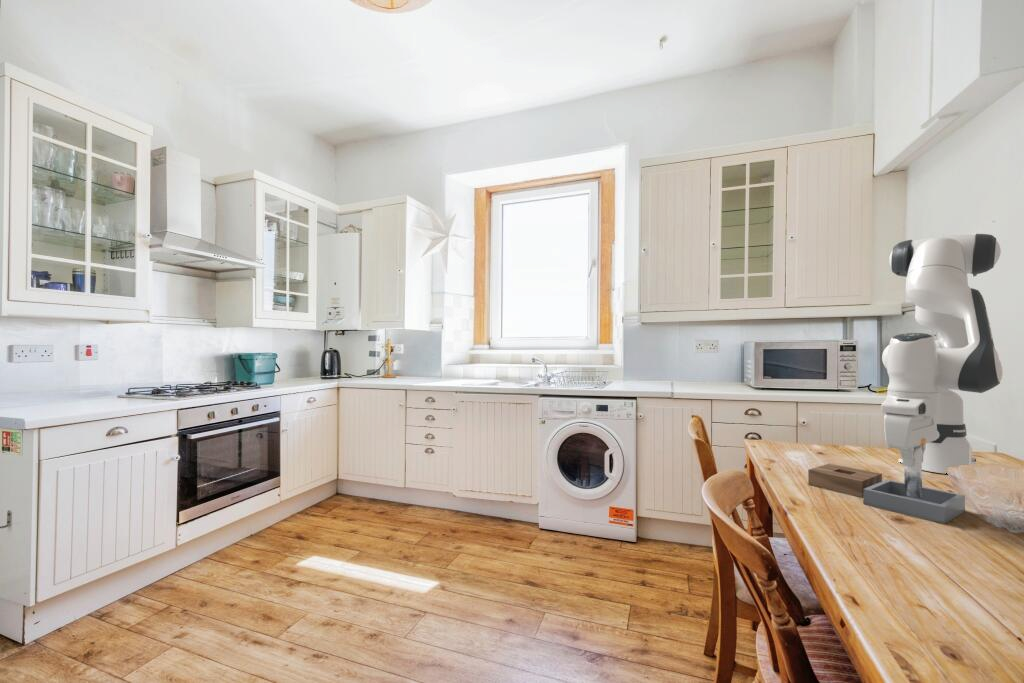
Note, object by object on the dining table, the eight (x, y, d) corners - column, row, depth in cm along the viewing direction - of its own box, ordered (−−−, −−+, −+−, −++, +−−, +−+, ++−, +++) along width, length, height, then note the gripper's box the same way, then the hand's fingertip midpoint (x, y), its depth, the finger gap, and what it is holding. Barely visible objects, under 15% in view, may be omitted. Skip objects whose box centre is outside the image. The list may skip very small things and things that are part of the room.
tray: (887, 493, 112) (887, 479, 112) (964, 510, 100) (964, 495, 100) (863, 503, 104) (863, 488, 104) (944, 524, 92) (944, 507, 92)
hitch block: (829, 477, 125) (829, 463, 125) (882, 489, 115) (882, 473, 115) (808, 484, 119) (808, 469, 119) (862, 497, 109) (862, 481, 109)
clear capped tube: (904, 491, 105) (904, 434, 105) (929, 496, 101) (928, 438, 101) (897, 494, 103) (896, 436, 103) (922, 499, 99) (921, 440, 99)
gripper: (911, 399, 110) (911, 455, 110) (877, 405, 100) (878, 467, 99) (945, 402, 105) (946, 461, 105) (914, 408, 94) (915, 474, 94)
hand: (913, 464), depth 102 cm, fingers closed on clear capped tube, 4 cm apart
